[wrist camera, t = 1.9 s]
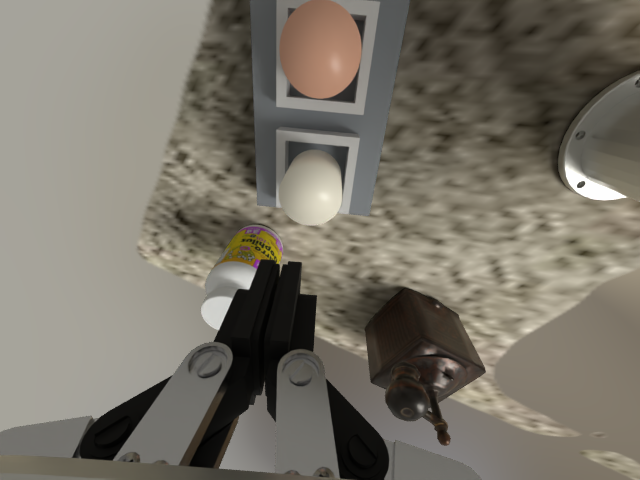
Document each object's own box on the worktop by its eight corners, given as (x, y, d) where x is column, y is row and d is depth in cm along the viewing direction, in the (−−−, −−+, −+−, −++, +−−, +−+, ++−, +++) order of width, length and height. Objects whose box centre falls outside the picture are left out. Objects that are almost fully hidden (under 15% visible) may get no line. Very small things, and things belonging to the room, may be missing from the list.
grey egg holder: (400, 8, 24) (418, -13, 19) (365, 201, 33) (371, 224, 28) (261, -6, 24) (241, -29, 19) (265, 192, 33) (252, 213, 28)
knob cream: (344, 152, 24) (346, 168, 19) (337, 203, 26) (338, 228, 22) (288, 147, 24) (278, 162, 19) (287, 198, 26) (278, 222, 22)
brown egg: (360, 20, 19) (368, 3, 15) (351, 97, 22) (355, 102, 17) (292, 14, 19) (279, -5, 15) (290, 91, 22) (279, 94, 17)
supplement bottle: (293, 242, 36) (275, 313, 25) (266, 272, 39) (239, 349, 28) (250, 212, 34) (209, 275, 23) (225, 247, 37) (178, 318, 26)
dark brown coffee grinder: (463, 311, 41) (541, 454, 25) (414, 352, 46) (454, 491, 30) (378, 266, 37) (409, 397, 22) (335, 315, 43) (335, 450, 27)
